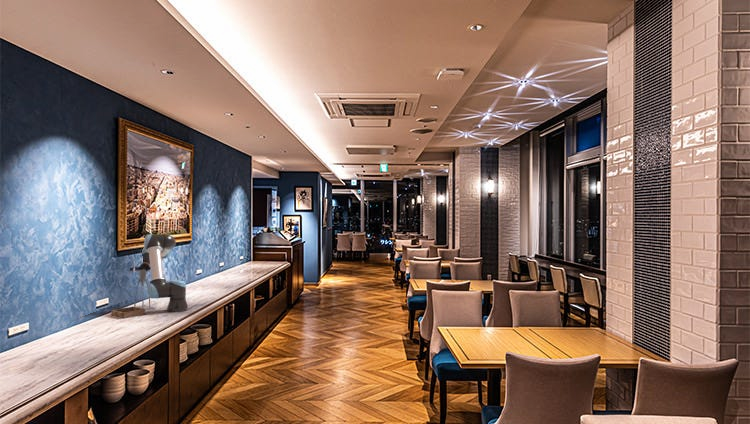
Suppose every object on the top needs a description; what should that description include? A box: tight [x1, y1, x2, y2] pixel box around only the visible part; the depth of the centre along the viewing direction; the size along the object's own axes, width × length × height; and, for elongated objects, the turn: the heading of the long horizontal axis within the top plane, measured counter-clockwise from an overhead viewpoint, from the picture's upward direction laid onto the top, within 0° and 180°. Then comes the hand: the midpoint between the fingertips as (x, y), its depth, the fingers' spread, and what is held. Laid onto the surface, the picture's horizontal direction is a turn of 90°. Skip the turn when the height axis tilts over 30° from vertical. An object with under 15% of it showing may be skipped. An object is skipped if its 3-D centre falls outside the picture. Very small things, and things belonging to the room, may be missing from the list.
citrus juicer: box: [133, 270, 151, 308], centre depth 372 cm, size 11×10×30 cm
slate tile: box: [136, 304, 155, 311], centre depth 372 cm, size 14×14×1 cm
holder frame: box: [110, 306, 146, 319], centre depth 350 cm, size 16×17×4 cm
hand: (143, 269), depth 381 cm, fingers open, 13 cm apart
